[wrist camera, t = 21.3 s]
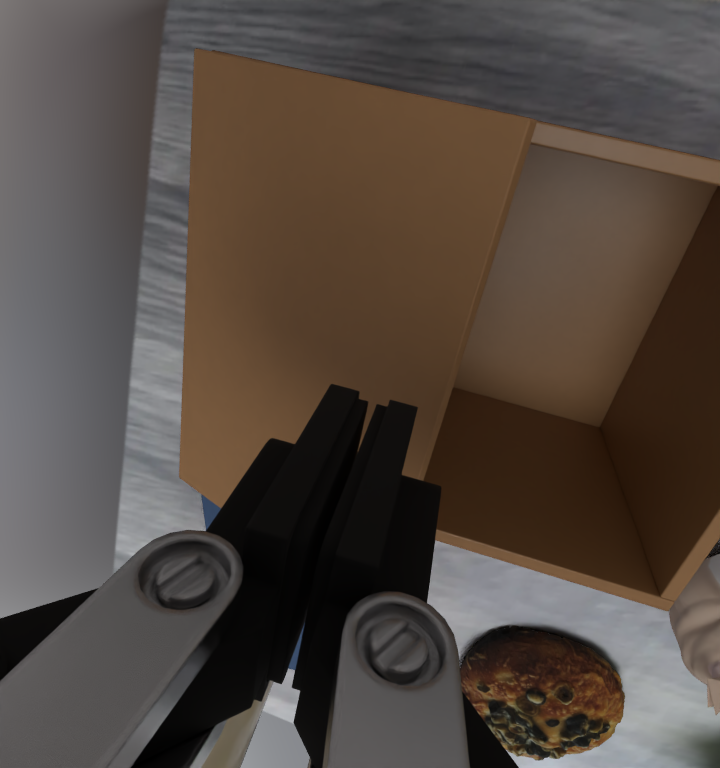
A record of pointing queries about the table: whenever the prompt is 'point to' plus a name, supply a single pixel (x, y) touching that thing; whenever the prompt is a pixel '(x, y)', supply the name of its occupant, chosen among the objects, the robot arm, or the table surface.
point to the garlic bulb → (701, 627)
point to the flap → (330, 254)
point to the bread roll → (542, 692)
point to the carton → (593, 373)
